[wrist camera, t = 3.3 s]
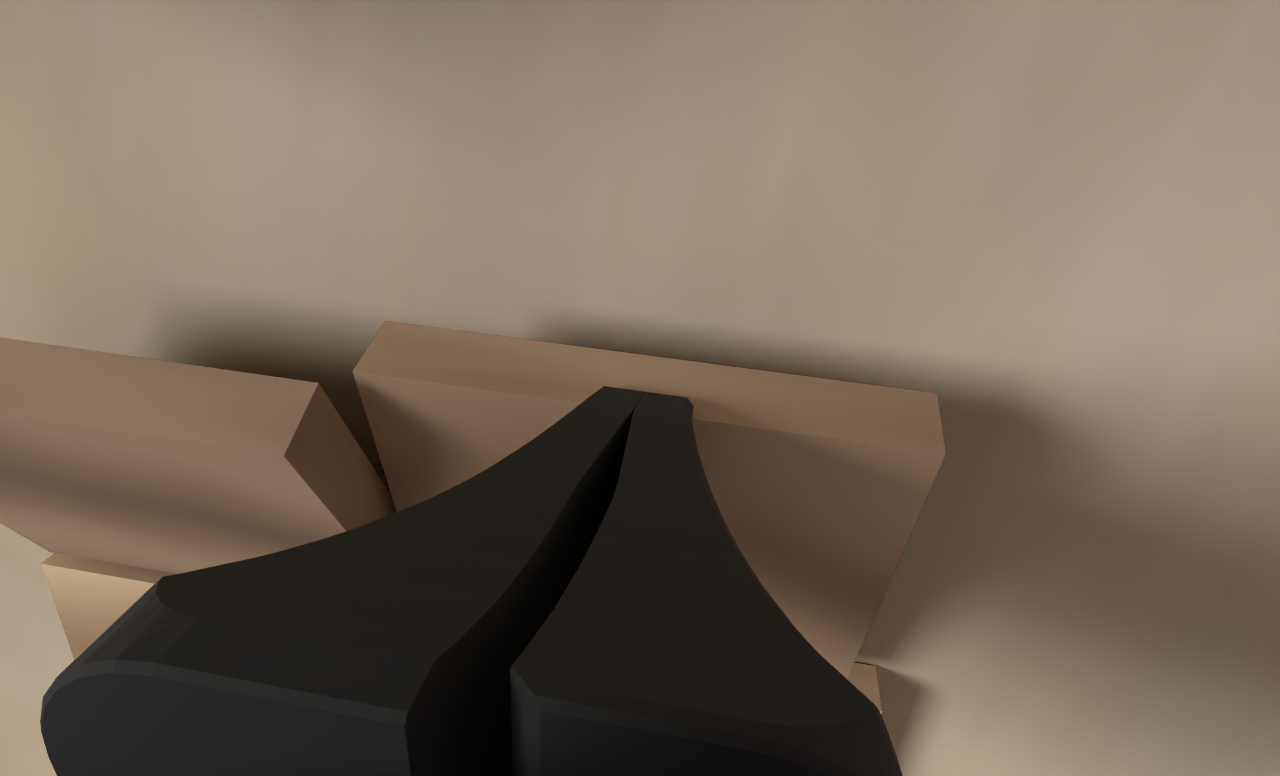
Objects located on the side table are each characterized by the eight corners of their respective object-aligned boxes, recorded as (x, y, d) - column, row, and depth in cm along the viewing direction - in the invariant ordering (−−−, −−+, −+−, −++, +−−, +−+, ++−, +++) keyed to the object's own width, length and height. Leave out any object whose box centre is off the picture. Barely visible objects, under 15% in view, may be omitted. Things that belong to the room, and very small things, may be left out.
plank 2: (842, 634, 16) (842, 689, 15) (449, 569, 17) (430, 617, 16) (936, 393, 11) (946, 454, 11) (385, 320, 12) (352, 371, 12)
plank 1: (434, 561, 17) (416, 615, 16) (80, 503, 18) (50, 551, 17) (318, 383, 11) (283, 455, 11) (-197, 309, 12) (-259, 373, 12)
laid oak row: (799, 931, 21) (801, 981, 20) (166, 799, 23) (137, 838, 22) (875, 666, 17) (882, 712, 16) (83, 531, 19) (40, 563, 18)
